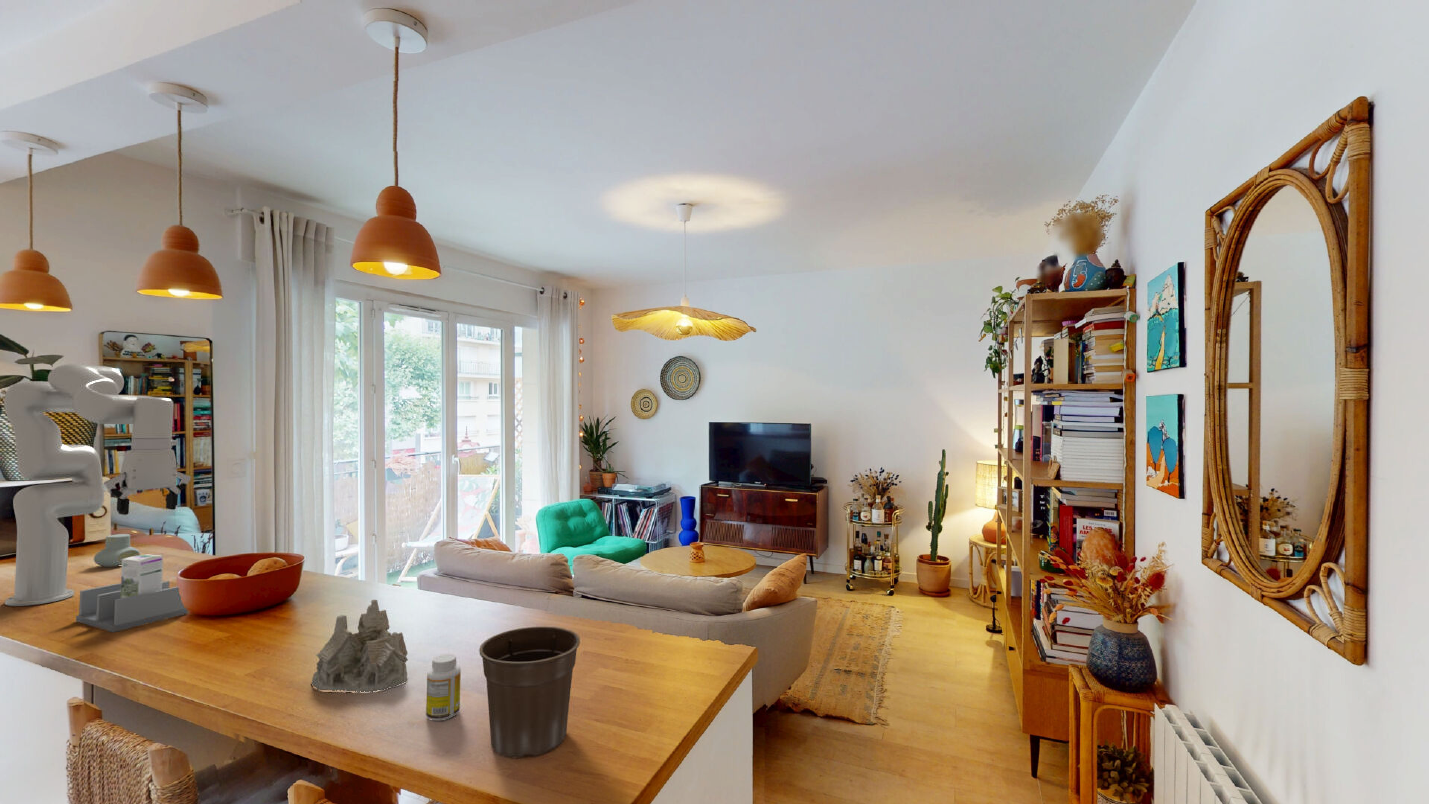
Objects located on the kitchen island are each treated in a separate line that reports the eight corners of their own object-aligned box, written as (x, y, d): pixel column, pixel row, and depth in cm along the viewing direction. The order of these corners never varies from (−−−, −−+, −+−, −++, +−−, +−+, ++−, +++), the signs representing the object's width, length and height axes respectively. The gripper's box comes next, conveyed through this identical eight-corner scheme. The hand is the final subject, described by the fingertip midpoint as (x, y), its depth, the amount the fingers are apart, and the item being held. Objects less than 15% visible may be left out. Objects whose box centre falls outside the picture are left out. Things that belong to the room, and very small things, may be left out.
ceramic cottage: (307, 676, 122) (314, 603, 122) (397, 660, 132) (403, 592, 132) (317, 711, 110) (325, 630, 110) (414, 690, 120) (421, 616, 120)
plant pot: (453, 753, 96) (456, 651, 97) (519, 708, 111) (522, 620, 112) (537, 777, 90) (540, 669, 91) (595, 726, 106) (598, 633, 106)
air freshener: (123, 560, 207) (124, 531, 208) (144, 562, 206) (146, 532, 207) (87, 568, 196) (88, 538, 197) (109, 570, 196) (111, 539, 196)
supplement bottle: (450, 704, 112) (452, 649, 112) (465, 714, 108) (467, 657, 109) (420, 715, 108) (422, 658, 108) (434, 726, 104) (436, 667, 104)
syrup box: (162, 611, 154) (165, 554, 154) (136, 619, 148) (139, 560, 148) (144, 609, 155) (147, 553, 155) (118, 617, 149) (120, 558, 149)
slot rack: (75, 621, 149) (77, 591, 149) (151, 604, 163) (152, 576, 163) (113, 632, 143) (114, 600, 143) (188, 613, 157) (189, 584, 157)
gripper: (183, 443, 164) (180, 505, 164) (99, 445, 148) (95, 514, 148) (199, 444, 161) (196, 508, 161) (115, 447, 145) (111, 518, 145)
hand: (147, 511), depth 154 cm, fingers open, 9 cm apart
